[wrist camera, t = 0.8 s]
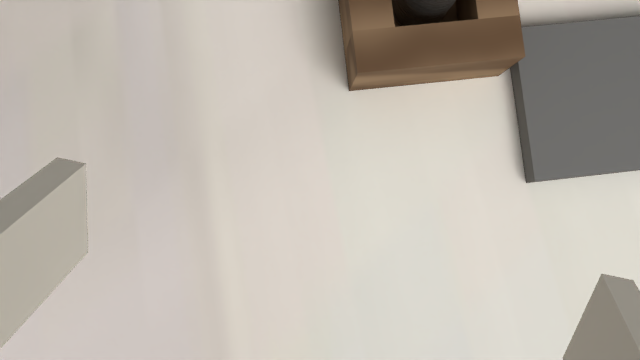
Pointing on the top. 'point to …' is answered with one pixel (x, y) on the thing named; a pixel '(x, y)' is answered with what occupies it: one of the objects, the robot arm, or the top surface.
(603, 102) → the mat
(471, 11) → the socket block
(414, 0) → the grey cylindrical peg
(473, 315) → the top surface
